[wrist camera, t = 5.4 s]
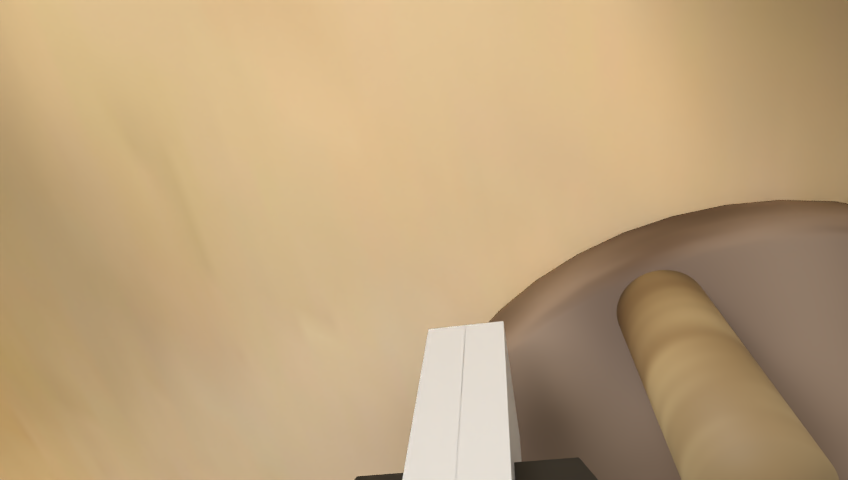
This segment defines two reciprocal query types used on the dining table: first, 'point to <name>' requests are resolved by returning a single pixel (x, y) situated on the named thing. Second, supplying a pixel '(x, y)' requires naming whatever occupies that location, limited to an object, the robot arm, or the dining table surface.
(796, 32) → the dining table surface
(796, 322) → the turntable
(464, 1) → the dining table surface
